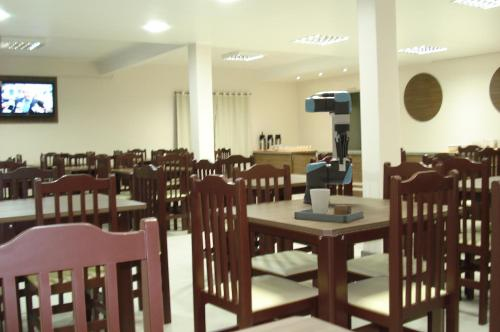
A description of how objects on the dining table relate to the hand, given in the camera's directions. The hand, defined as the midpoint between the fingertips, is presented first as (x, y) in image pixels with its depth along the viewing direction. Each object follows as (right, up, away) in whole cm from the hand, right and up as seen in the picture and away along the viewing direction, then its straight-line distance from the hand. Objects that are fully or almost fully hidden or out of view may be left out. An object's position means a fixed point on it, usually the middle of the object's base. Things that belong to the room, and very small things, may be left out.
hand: (342, 170), depth 269 cm
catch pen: (-9, -22, -14) cm, 27 cm away
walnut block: (-3, -22, -16) cm, 27 cm away
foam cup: (-12, -22, -11) cm, 28 cm away
